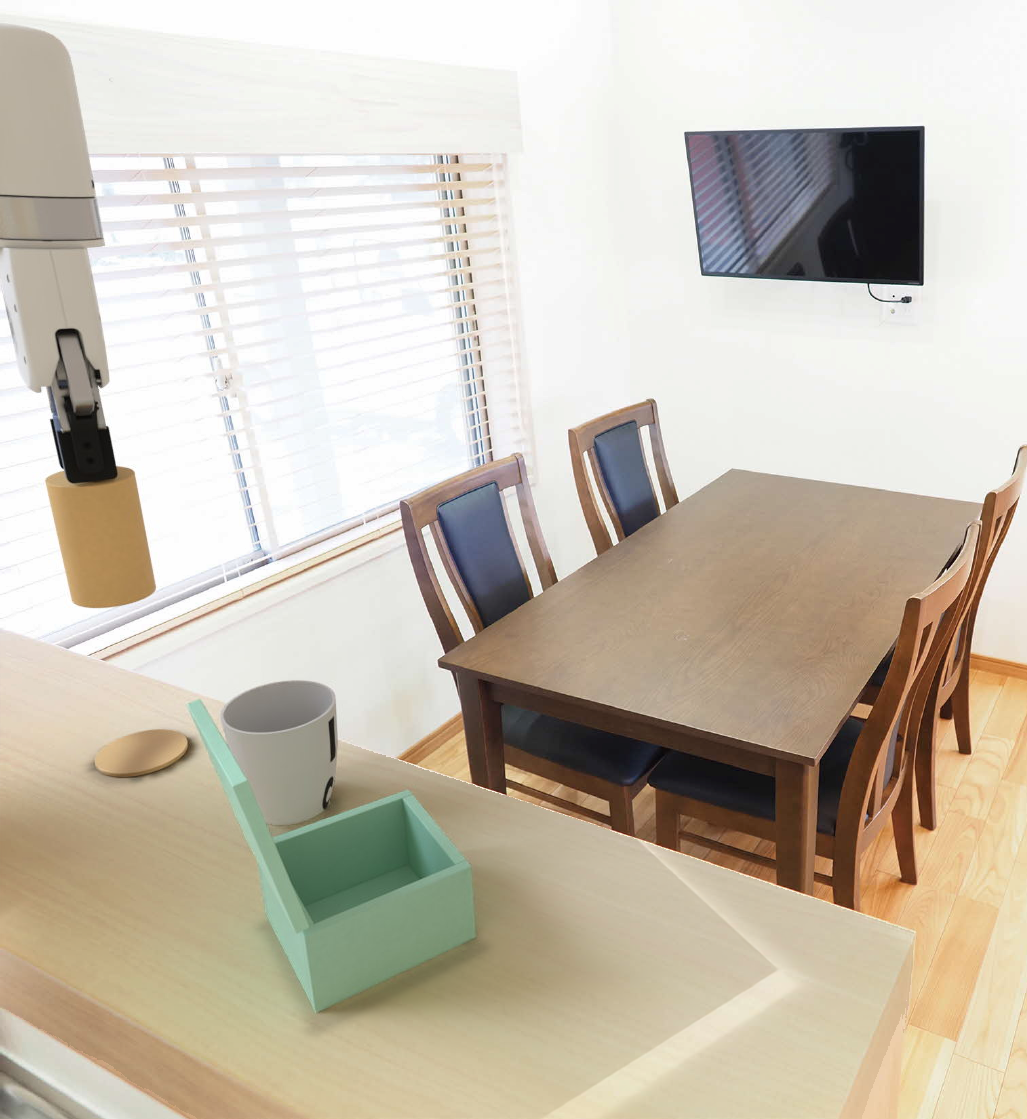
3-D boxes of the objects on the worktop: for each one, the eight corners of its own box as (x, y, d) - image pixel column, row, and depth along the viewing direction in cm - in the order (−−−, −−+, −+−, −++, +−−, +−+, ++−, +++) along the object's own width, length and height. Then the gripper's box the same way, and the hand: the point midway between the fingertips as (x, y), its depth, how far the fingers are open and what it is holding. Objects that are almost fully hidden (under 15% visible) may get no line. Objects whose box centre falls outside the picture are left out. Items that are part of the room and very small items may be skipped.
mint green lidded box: (415, 863, 73) (408, 788, 70) (476, 945, 65) (472, 866, 63) (266, 923, 66) (253, 843, 64) (316, 1022, 59) (304, 937, 56)
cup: (356, 825, 76) (343, 718, 73) (244, 855, 72) (224, 744, 69) (339, 773, 83) (326, 672, 79) (234, 798, 79) (216, 693, 75)
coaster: (102, 787, 79) (101, 783, 79) (89, 748, 84) (88, 745, 84) (196, 759, 83) (195, 755, 83) (178, 724, 88) (177, 721, 88)
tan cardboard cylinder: (77, 614, 73) (35, 425, 68) (67, 589, 78) (26, 408, 72) (162, 598, 77) (129, 416, 72) (148, 574, 81) (116, 401, 76)
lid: (199, 697, 58) (185, 703, 58) (247, 779, 51) (232, 787, 51) (259, 835, 64) (246, 841, 63) (310, 927, 56) (296, 935, 56)
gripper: (-37, 214, 70) (18, 454, 77) (-21, 230, 59) (42, 511, 65) (84, 217, 75) (126, 443, 82) (120, 232, 63) (166, 494, 70)
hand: (88, 471), depth 73 cm, fingers closed on tan cardboard cylinder, 3 cm apart
